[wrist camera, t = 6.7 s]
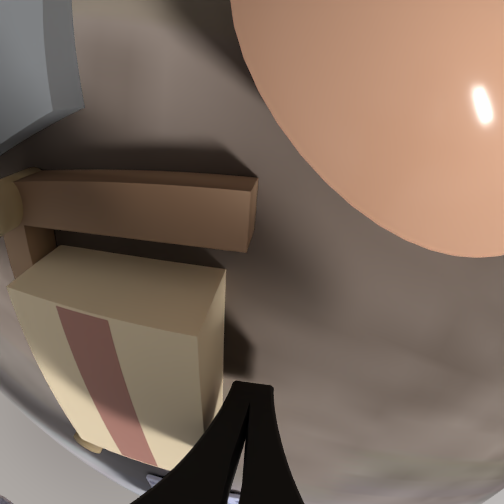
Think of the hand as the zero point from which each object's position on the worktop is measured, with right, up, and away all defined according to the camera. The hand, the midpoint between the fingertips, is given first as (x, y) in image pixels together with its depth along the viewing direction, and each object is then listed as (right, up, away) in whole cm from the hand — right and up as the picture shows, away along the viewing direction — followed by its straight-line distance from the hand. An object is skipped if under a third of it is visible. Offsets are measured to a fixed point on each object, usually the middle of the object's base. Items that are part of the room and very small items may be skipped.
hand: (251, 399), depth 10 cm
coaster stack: (-10, +13, -3) cm, 17 cm away
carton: (-4, +1, +2) cm, 5 cm away
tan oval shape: (+3, +10, -4) cm, 11 cm away
